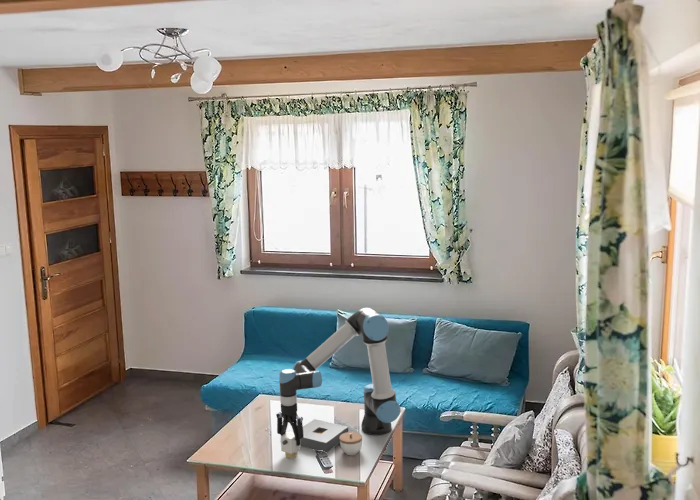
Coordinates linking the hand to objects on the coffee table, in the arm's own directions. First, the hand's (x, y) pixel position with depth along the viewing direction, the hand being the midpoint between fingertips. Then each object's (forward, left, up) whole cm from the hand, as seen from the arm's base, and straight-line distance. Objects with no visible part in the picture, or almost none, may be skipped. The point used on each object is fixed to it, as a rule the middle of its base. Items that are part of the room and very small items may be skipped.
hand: (291, 449), depth 323 cm
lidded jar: (-23, -16, -3) cm, 28 cm away
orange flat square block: (-3, -20, 0) cm, 20 cm away
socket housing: (-3, -20, -3) cm, 20 cm away
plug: (0, 0, -3) cm, 3 cm away
